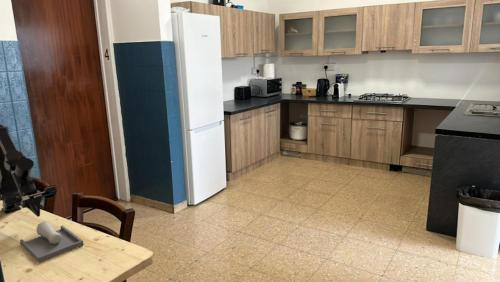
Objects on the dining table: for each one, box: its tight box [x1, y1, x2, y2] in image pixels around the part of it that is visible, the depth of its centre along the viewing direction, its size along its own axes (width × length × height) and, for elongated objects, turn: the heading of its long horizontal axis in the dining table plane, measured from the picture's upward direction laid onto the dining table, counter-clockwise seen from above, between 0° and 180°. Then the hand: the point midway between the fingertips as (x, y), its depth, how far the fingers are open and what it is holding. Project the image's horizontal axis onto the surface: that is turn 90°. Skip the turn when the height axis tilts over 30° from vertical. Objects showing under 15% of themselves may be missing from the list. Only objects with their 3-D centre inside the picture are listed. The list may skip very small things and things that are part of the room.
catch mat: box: [19, 225, 84, 264], centre depth 139 cm, size 19×16×2 cm
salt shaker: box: [36, 221, 61, 244], centre depth 142 cm, size 6×6×13 cm
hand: (38, 216), depth 143 cm, fingers closed
